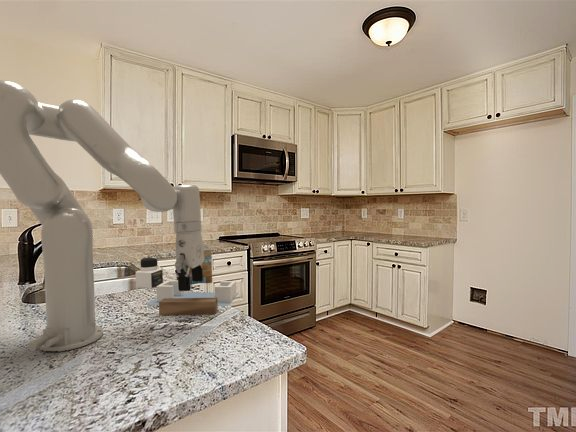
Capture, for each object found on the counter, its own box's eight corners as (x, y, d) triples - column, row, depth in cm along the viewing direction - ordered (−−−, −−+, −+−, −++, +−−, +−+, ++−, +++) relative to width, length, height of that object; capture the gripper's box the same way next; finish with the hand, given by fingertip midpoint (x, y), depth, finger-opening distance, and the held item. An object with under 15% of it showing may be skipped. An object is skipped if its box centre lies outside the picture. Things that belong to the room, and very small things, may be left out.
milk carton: (176, 283, 126) (175, 238, 125) (199, 278, 133) (198, 236, 133) (188, 287, 118) (187, 239, 118) (212, 282, 126) (211, 237, 125)
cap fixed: (230, 302, 96) (230, 287, 96) (214, 302, 97) (214, 286, 97) (236, 295, 104) (236, 281, 104) (221, 295, 104) (221, 281, 104)
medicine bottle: (152, 290, 115) (151, 259, 114) (135, 290, 116) (134, 259, 116) (163, 285, 122) (162, 256, 121) (147, 285, 123) (146, 256, 123)
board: (228, 309, 93) (228, 305, 93) (144, 308, 95) (144, 304, 95) (238, 295, 107) (238, 292, 107) (165, 294, 109) (165, 292, 109)
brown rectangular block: (215, 318, 86) (214, 301, 86) (159, 319, 86) (158, 302, 86) (217, 314, 90) (217, 297, 89) (164, 314, 90) (163, 298, 89)
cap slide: (172, 301, 98) (171, 286, 97) (156, 301, 98) (156, 286, 98) (182, 294, 105) (182, 280, 105) (168, 294, 106) (167, 280, 106)
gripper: (188, 230, 78) (192, 294, 79) (210, 224, 95) (213, 277, 96) (160, 231, 79) (165, 295, 80) (187, 225, 96) (190, 278, 97)
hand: (191, 285), depth 88 cm, fingers open, 9 cm apart
